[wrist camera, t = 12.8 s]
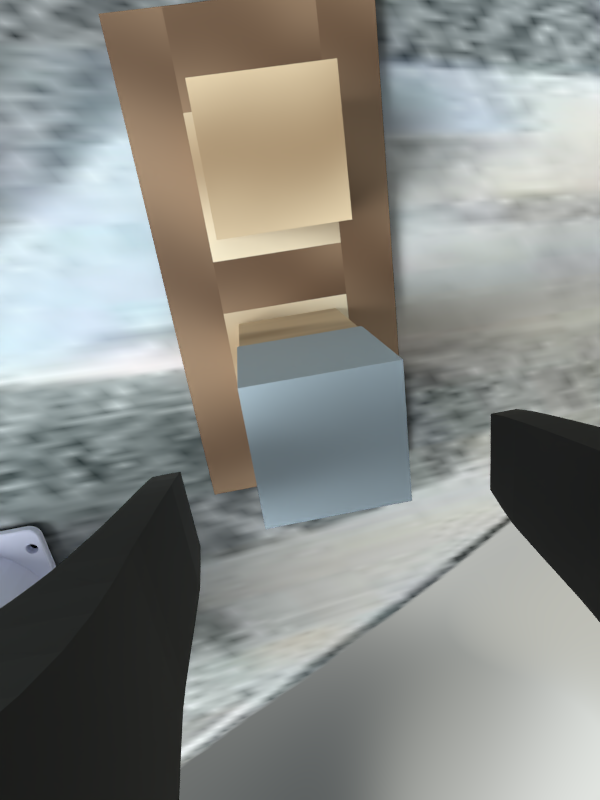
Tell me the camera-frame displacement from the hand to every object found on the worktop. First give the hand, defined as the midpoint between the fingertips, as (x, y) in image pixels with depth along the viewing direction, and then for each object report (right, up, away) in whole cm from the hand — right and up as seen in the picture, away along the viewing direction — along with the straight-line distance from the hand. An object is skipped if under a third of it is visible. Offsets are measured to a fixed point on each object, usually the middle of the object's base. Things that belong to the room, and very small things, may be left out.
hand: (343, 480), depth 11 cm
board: (-2, +7, +8) cm, 11 cm away
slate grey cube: (-1, +2, +5) cm, 5 cm away
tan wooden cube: (-2, +10, +6) cm, 12 cm away
